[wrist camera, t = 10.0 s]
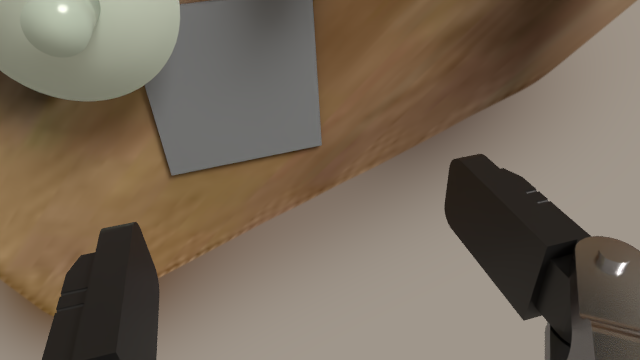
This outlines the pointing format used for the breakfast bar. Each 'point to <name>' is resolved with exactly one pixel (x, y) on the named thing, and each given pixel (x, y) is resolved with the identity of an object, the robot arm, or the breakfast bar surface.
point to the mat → (238, 84)
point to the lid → (86, 45)
